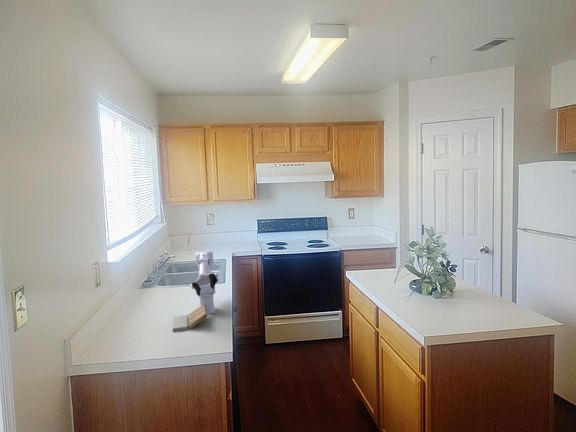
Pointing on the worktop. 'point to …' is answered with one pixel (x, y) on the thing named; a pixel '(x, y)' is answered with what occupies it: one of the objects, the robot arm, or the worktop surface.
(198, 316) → the tan flat block
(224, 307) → the worktop surface
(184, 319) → the floor board
